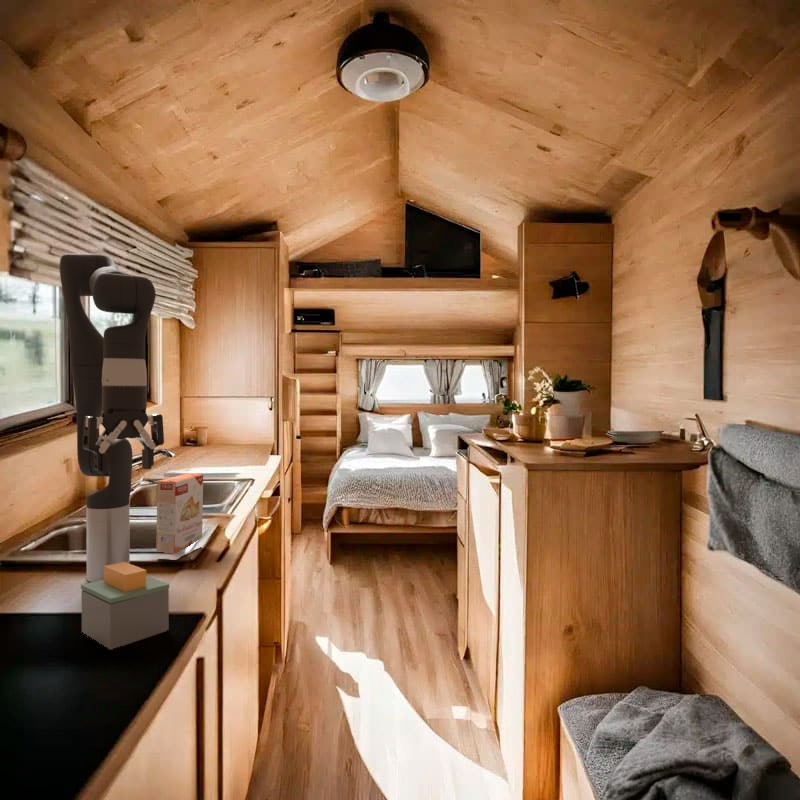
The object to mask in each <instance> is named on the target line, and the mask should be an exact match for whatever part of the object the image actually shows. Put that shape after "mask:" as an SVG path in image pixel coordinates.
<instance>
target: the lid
mask: <svg viewBox="0 0 800 800" xmlns="http://www.w3.org/2000/svg"><path fill="white" fill-rule="evenodd" d="M80 589H81V591H82V590H84V591H86V592H88V593H90V594H92V595H95V596H97V597H99V598H101V599H103V600H105V601H107V602H109V603H115V602H118V601H122V600H126V599H130V598H134V597H138V596H142V595H146V594H150V593H153V592H157V591H161V590H165V589H170V583H168V582H166V581H165V582H164V581H162V580H160V579H157V578H155V577H152V576H149V575H148V574H146V586H145V587H141V588H137V589H133V590H129V591H123V590H120V589H118V588H116V587H114V586H111V585H109V584H107V583H105V582H104V580H100V581H95V582H87V583H82V584H81V585H80Z"/></svg>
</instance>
